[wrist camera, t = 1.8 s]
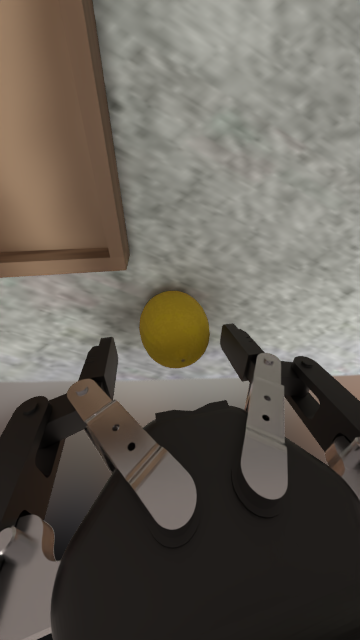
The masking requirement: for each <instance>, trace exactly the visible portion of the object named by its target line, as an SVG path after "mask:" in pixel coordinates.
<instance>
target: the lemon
mask: <svg viewBox="0 0 360 640" xmlns="http://www.w3.org/2000/svg"><path fill="white" fill-rule="evenodd" d="M139 329H140V335H141V340H142V343H143V345H144V347H145V349H146V351H147V353H148V354H149V356H150V357H151V358H152V359H153V360H154V361H156V362H157V363H159V364H161V365H163V366H166V367H169V368H182V367H186V366H189V365H191V364H193V363H195V362H196V361H197V360H198V359H199V358H200V357H201V356H202V355H203V354H204V352H205V350H206V348H207V346H208V342H209V336H210V332H209V323H208V319H207V317H206V314H205V312H204V310H203V308H202V307H201V306H200V304H199V303H198V302H197V301H196V300H195V299H194V298H192V297H191V296H189V295H188V294H186V293H183V292H180V291H166V292H162V293H160V294H158V295H156V296H154V297H153V298H152V299H151V300H149V302H148V303H147V304H146V306H145V307H144V309H143V312H142V314H141V317H140V327H139Z"/></svg>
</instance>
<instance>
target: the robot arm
mask: <svg viewBox="0 0 360 640" xmlns="http://www.w3.org/2000/svg"><path fill="white" fill-rule="evenodd" d="M220 345H221V348H222V350H223V352H224V353H225V355H226V356H227V358H228V360H229V361H230V363H231V365H232V366H233V368H234V369H235V371H236V373H237V374H238V376H239V378H240V379H241V381H249V382H250V384H249V388H248V393H247V398H246V404H245V408H244V410H243V409H241V408H237V407H234V406H229V405H228V403H227V401H226V400H224V401H219V402H213V403H209V404H207V405H205V406H203V407H201V408H199V409H197V410H194V411H181V410H171V411H166V412H160V413H156V414H155V415H156V420H154V421H152V422H150V423H149V424H147V425H146V426H145V427H144V428H142V427H141V426H140V425H139V424H138V423H137V421H136V420H135V419H134V418H133V417H132V416H131V415H130V414H129V413H128V412H127V411H126V410H125V409H124V408H123V406H122V405H121V404H120V403H119V402H118V401H117V400H114V401H113V396H114V388H115V381H116V373H117V366H118V355H117V350H116V346H115V342H114V338H113V337H107V338H101V340H100V344H99V346H94V347H93V348H92V349H91V350H90V351H89V352H88V355H87V359H86V361H85V364H84V366H83V369H82V372H81V375H80V377H79V380H78V382H76V383H74V384H73V385H72V386H71V387H70V388H69V390H68V392H67V393H66V394H64V395H62V396H59V397H57V398H54V399H52V400H49V401H48V399H47V398H46V397H44V396H38V397H34V398H31V399H29V400H27V401H25V402H24V403H22V404H21V405H20V406H19V407H18V408H17V409H16V410H15V412H14V413H13V415H12V417H11V419H10V420H9V422H8V424H7V426H6V428H5V430H4V431H3V433H2V435H1V437H0V640H36V639H38V638H41V637H43V636H45V635H47V634H50V633H52V637H53V640H360V401H359V400H357V398H355V397H354V396H353V395H352V394H351V393H350V392H349V391H348V390H347V389H346V388H344V387H343V386H342V385H341V384H340V383H339V382H338V381H337V380H336V379H334V378H333V377H332V376H331V375H330V374H329V373H328V372H327V371H326V370H324V369H323V368H322V367H321V366H320V365H319V364H318V363H317V362H315V361H314V360H312V359H310V358H308V357H304V356H298V357H295V358H294V360H293V362H284V361H280V360H279V359H278V358H277V357H276V356H274V355H272V354H269V353H265V352H264V351H263V350H262V349H261V348H260V347H259V346H258V345H257V344H256V343H255V341H254V340H253V339H252V338H250V336H249V335H248V334H247V333H246V332H245V331H243V330H241V329H238V328H237V327H236V326H235V325H234V324H225V325H223V326H222V332H221V340H220ZM309 390H311V391H312V392H313V393H314V394H315V395H316V396H317V398H318V399H319V401H320V405H319V403H318V402H317V401H316V400H315V399H314V398H313V397H312V396H311V394H310V393H309ZM284 397H285V398H286V399H287V401H288V402H289V403H290V405H291V406H292V408H293V409H294V410H295V412H296V413H297V414H298V416H299V417H300V418H301V420H302V421H303V423H304V424H305V425H306V427H307V428H308V430H309V431H310V432H311V434H312V435H313V436H314V438H315V439H316V440H317V442H318V443H319V445H320V446H321V447H322V449H323V450H324V452H325V458H326V462H327V464H328V465H329V466H328V465H326V464H325V463H323V462H322V461H320V460H319V459H317V458H316V457H314V456H313V455H311V454H310V453H308V452H307V451H305V450H304V449H302V448H301V447H299V446H298V445H296V444H295V443H293V442H292V441H290V440H289V439H287V438H286V437H285V436H284V435H285V433H284ZM83 429H84V431H85V432H86V434H87V436H88V437H89V438H90V440H91V441H92V443H93V445H94V446H95V448H96V449H97V451H98V452H99V454H100V456H101V457H102V459H103V461H104V463H105V464H106V466H107V467H108V469H109V471H110V472H111V473H112V475H111V477H110V478H109V480H108V481H107V483H106V485H105V486H104V488H103V489H102V491H101V492H100V494H99V496H98V497H97V499H96V500H95V502H94V504H93V505H92V507H91V508H90V510H89V512H88V513H87V515H86V516H85V518H84V520H83V521H82V523H81V524H80V526H79V527H78V529H77V531H76V532H75V534H74V535H73V537H72V539H71V540H70V542H69V544H68V546H67V548H66V550H65V552H64V554H63V557H62V559H61V561H57V562H56V560H55V558H54V551H53V550H54V531H53V529H52V527H51V526H50V525H49V524H47V523H46V522H45V521H44V519H45V515H46V511H47V508H48V504H49V500H50V496H51V492H52V488H53V484H54V480H55V477H56V473H57V469H58V465H59V461H60V458H61V453H62V450H63V446H64V442H65V439H66V438H67V437H68V436H71V435H73V434H75V433H77V432H79V431H81V430H83Z"/></svg>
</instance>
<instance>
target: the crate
mask: <svg viewBox="0 0 360 640" xmlns="http://www.w3.org/2000/svg"><path fill="white" fill-rule="evenodd" d="M129 257H130V253H129V246H128V240H127V233H126V226H125V219H124V212H123V206H122V199H121V192H120V185H119V178H118V172H117V165H116V158H115V151H114V145H113V138H112V131H111V124H110V117H109V111H108V104H107V97H106V90H105V83H104V77H103V70H102V63H101V56H100V49H99V43H98V36H97V29H96V22H95V16H94V9H93V2H92V0H0V278H2V277H19V276H35V275H52V274H69V273H86V272H103V271H120V270H126V269H127V265H128V261H129Z"/></svg>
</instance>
